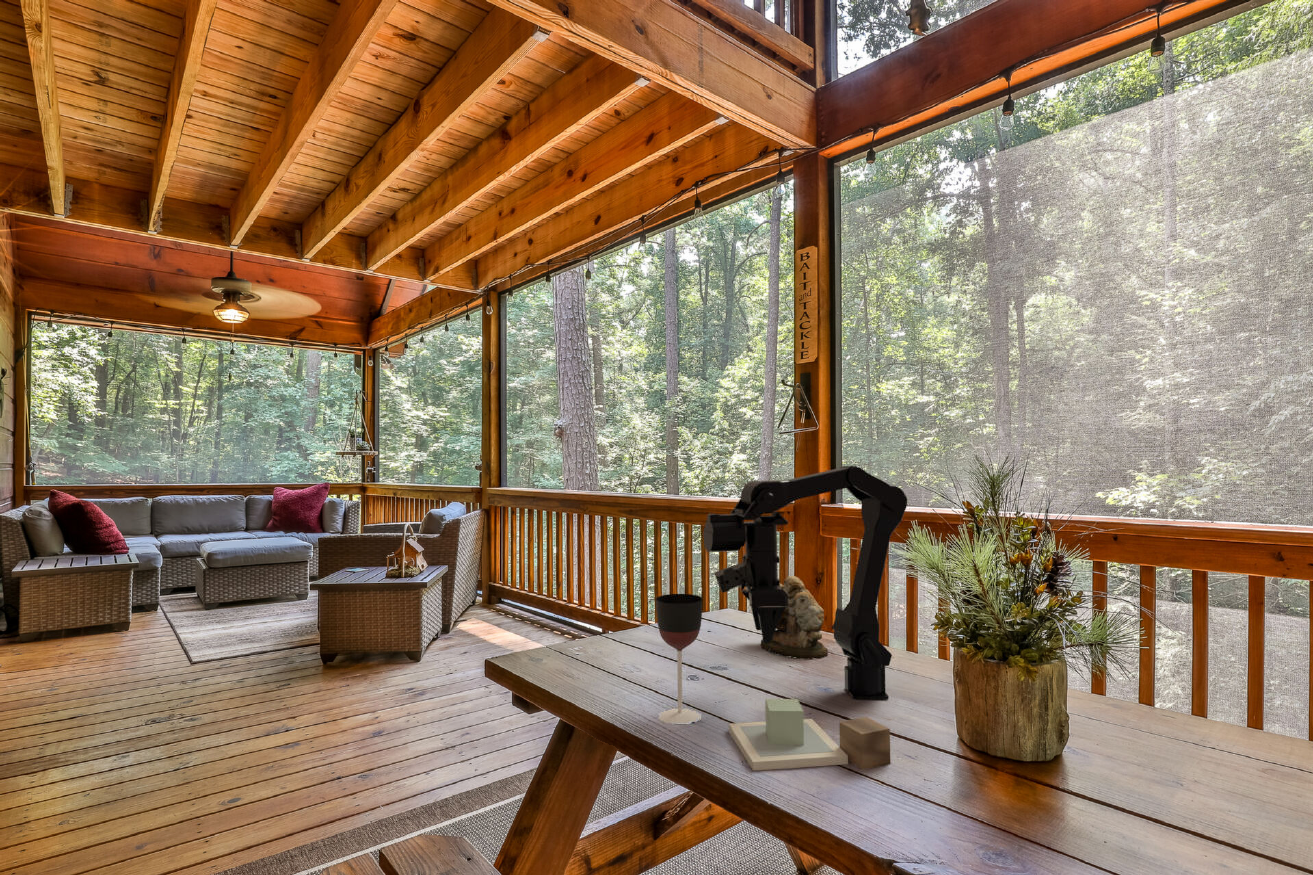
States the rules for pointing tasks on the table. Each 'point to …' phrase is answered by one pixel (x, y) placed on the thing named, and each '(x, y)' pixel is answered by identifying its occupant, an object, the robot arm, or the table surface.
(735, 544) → the robot arm
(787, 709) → the sage cube
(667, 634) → the wineglass
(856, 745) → the walnut cube
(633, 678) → the table surface
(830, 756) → the tray
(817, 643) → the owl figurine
